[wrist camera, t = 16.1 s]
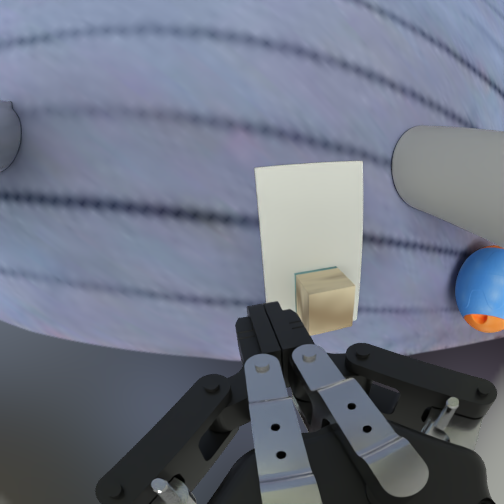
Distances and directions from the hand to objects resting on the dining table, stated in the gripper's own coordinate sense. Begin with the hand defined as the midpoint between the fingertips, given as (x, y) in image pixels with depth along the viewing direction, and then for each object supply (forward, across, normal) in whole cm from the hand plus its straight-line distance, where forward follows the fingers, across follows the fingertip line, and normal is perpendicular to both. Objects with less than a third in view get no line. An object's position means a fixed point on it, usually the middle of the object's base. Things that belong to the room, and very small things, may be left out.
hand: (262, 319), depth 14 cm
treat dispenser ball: (+22, -44, +16) cm, 52 cm away
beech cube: (+16, -11, +12) cm, 23 cm away
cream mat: (+22, -11, +7) cm, 26 cm away
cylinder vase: (+22, -29, -4) cm, 37 cm away
